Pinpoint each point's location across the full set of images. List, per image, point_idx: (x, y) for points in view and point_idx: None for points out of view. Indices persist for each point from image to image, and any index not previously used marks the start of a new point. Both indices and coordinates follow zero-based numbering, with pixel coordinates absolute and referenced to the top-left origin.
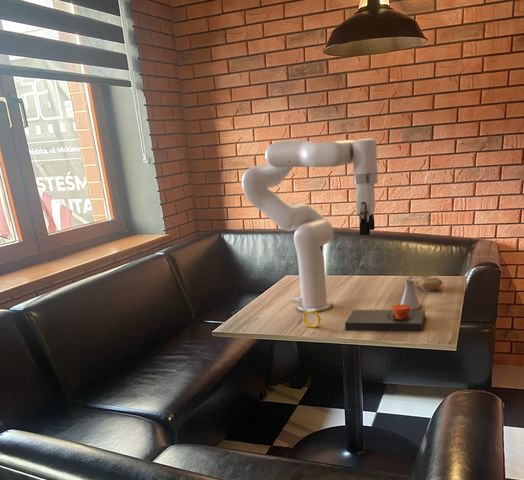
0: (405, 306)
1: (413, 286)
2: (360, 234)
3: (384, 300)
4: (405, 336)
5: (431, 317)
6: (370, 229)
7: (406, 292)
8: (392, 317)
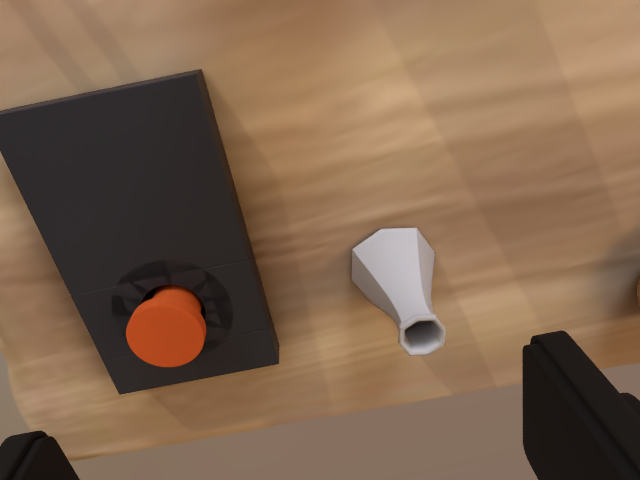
0: (177, 351)
1: (418, 331)
2: (11, 445)
3: (498, 123)
4: (54, 347)
5: (283, 363)
6: (523, 414)
7: (386, 297)
8: (147, 288)
